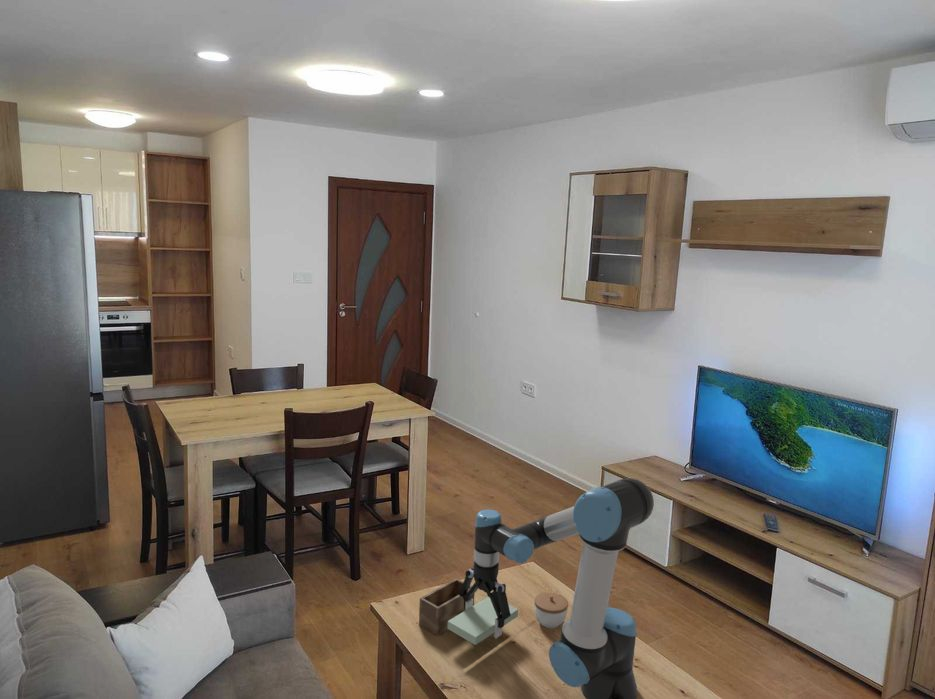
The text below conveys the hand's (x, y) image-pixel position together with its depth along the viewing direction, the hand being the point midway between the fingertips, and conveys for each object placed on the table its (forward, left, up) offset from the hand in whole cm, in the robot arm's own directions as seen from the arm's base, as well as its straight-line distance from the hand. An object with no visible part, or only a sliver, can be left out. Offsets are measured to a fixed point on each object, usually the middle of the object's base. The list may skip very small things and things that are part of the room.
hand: (482, 627), depth 204 cm
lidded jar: (-9, -23, -5) cm, 25 cm away
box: (+15, 0, -5) cm, 16 cm away
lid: (0, 0, +2) cm, 2 cm away
